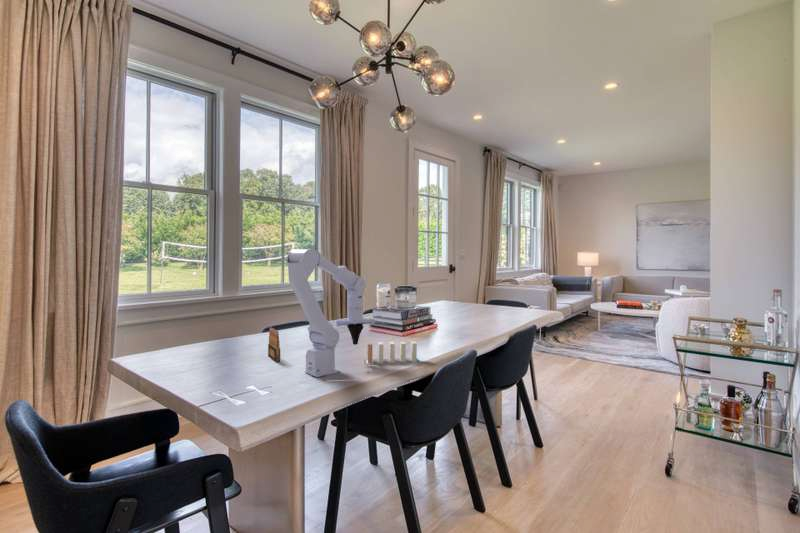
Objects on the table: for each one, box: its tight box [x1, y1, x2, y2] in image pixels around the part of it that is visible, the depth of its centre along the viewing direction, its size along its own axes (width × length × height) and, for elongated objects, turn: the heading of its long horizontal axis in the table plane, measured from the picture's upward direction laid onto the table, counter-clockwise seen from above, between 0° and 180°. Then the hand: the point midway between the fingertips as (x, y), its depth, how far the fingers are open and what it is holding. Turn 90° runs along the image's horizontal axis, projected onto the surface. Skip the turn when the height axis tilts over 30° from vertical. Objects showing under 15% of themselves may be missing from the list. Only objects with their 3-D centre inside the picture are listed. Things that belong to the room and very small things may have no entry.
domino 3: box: [399, 341, 407, 362], centre depth 156 cm, size 2×4×7 cm, turn 8°
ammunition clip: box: [267, 326, 281, 363], centre depth 159 cm, size 11×2×12 cm, turn 33°
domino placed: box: [366, 341, 373, 363], centre depth 154 cm, size 2×4×7 cm, turn 9°
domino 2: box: [388, 341, 396, 363], centre depth 155 cm, size 2×4×7 cm, turn 8°
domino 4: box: [410, 340, 418, 362], centre depth 156 cm, size 2×4×7 cm, turn 8°
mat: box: [363, 357, 421, 366], centre depth 155 cm, size 21×7×1 cm, turn 98°
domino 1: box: [377, 341, 384, 363], centre depth 154 cm, size 2×4×7 cm, turn 8°
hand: (355, 343), depth 153 cm, fingers closed
